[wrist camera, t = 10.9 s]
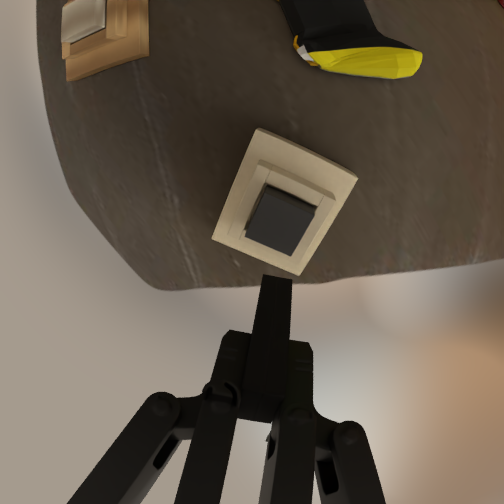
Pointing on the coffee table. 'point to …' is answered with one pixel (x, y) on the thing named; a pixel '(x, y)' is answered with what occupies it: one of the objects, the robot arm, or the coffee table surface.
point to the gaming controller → (347, 40)
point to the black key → (279, 221)
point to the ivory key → (82, 19)
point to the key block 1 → (110, 40)
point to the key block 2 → (288, 181)
